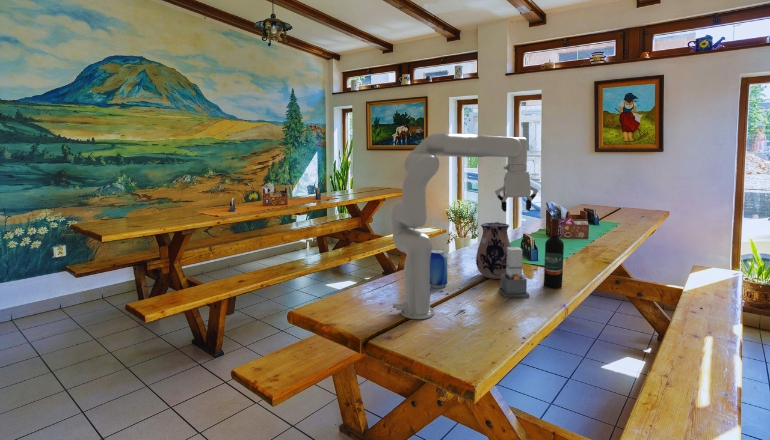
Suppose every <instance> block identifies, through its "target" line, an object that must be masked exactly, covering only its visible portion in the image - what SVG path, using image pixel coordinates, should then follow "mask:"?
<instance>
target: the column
mask: <svg viewBox="0 0 770 440" xmlns="http://www.w3.org/2000/svg"><path fill="white" fill-rule="evenodd" d="M515 275H519V276H520V279H522V275H523V249H522V248H521V247H520V246H511V247H507V264H506V277H507V278H508V279H513V276H515Z"/></svg>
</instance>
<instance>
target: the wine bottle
mask: <svg viewBox="0 0 770 440" xmlns="http://www.w3.org/2000/svg"><path fill="white" fill-rule="evenodd" d="M559 225H560V219H559V218H558V217H557V218H556V217H555V218H552V219H551V234H550V235H551V236H550V237H549V238H548V239H547V240H546V241H545V245H544V247H545V248H544V268H543V269H544V271H543V272H544V273H543V286H544V288H547V289H553V290H554V289H555V290H557V289H561V287H562V288H563V272H564V271H563V270H564V252H565V251H564V249H565V246H564V245H565V243H564V241H563V240H562V239H561V238H560V237H559Z"/></svg>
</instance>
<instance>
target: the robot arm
mask: <svg viewBox="0 0 770 440" xmlns="http://www.w3.org/2000/svg"><path fill="white" fill-rule="evenodd" d="M438 157H455V158H456V157H459V158H462V157H463V158H484V157H485V158H488V157H491V158H492V157H493V158H494V157H498V158H507V160H506V161H507V164H506V165H504V166H503V170H506V172H505V173H504V178H503V185H502V186H501V187H500V188H497V189H496V190H494V193H495V195H496V197H497V199H498V200H499V201H500V202H501V206H500V208H501V210H502V211H503V212H504V213H505V212H507V199H508V198H526V201H525V210H526V211H528V212H530V211H531V209H532V201H533V200H534V199H535V197H536V196H537V194H538V193H539V189H537V188H535V187H533V186H531V176H530V172H529V171H527V170H528V168H527V167H528V139H527V138H526V137H525V136H523V137H521V136H519V137H517V136H515V137H514V136H497V135H495V136H494V135H484V134H475V133H454V132H452V133H451V132H441V133H440V132H439V133H438V132H437V133H432V134H430V135H428V136H427V137H426V138H424V139H423V140H422V141H421V142H420V143H419V144H418V145H416V147H415V148H414V149H412V151H410V153H409V154H407V156H406V157H405V158H404V162H403V168H404V170H405V171H404V172H406V176H405V177H404V178H403V179H404V180H403V181H402V189H401V198H402V199H401V200H399V201H397V202H396V203H395V205H393V208H392V211H391V229H392V240H393V244H394V246H395V248H396V249H397V250H398V251H400V252H402V253H403V254H406V258H405V262H404V266H403V277H404V278H403V279H404V280H403V281H404V282H403V284H404V285H403V286H404V299H403V301H401V302H399V303H398V302H392V309H395V310H396V311H400V314H401V316H402V317H403V318H407V319H409V320H410V319H411V320H426V319H429V318H432V317H433V316H434V315H435V310H434V308H433V307H431V288H430V287H431V286H430V257H431V251H432V250H433V242H432V240H431V238H430V236H428V235H427V234H425V233H424V232H422V231H420V230H416V229H421V228H422V227H424V226H425V224H426V222H427V218H428V216H427V213H428V212H427V197H426V196H427V195H426V194H427V193H426V191H427V186H428V184H429V182H430V180H431V179H432V178H433V177H434V176H435V175H436V174H437V172H438V171H439V170H440V169H439V168H440V159H439V158H438ZM531 191H532V194H531ZM501 192H502V194H503V196H502V195H501V194H500V193H501Z"/></svg>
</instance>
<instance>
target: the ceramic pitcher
mask: <svg viewBox="0 0 770 440" xmlns="http://www.w3.org/2000/svg"><path fill="white" fill-rule="evenodd" d="M480 226H481V229H482V236H481V238H480V242H479V245H478V248H477V251H476V257H475V264H476V268H477V271H479V273H480V274H481V275H482V276H483V277H485V278H488V279H492V280H493V279H495V280H499V279H501V275H502V274H506V264H507V247H512V245H511V242H510V239H509V236H508V230H509V227H510V225H509V224H507V223H504V222H503V223H501V222H499V221H496V222H495V221H494V222H484V223H482V224H480Z"/></svg>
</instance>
